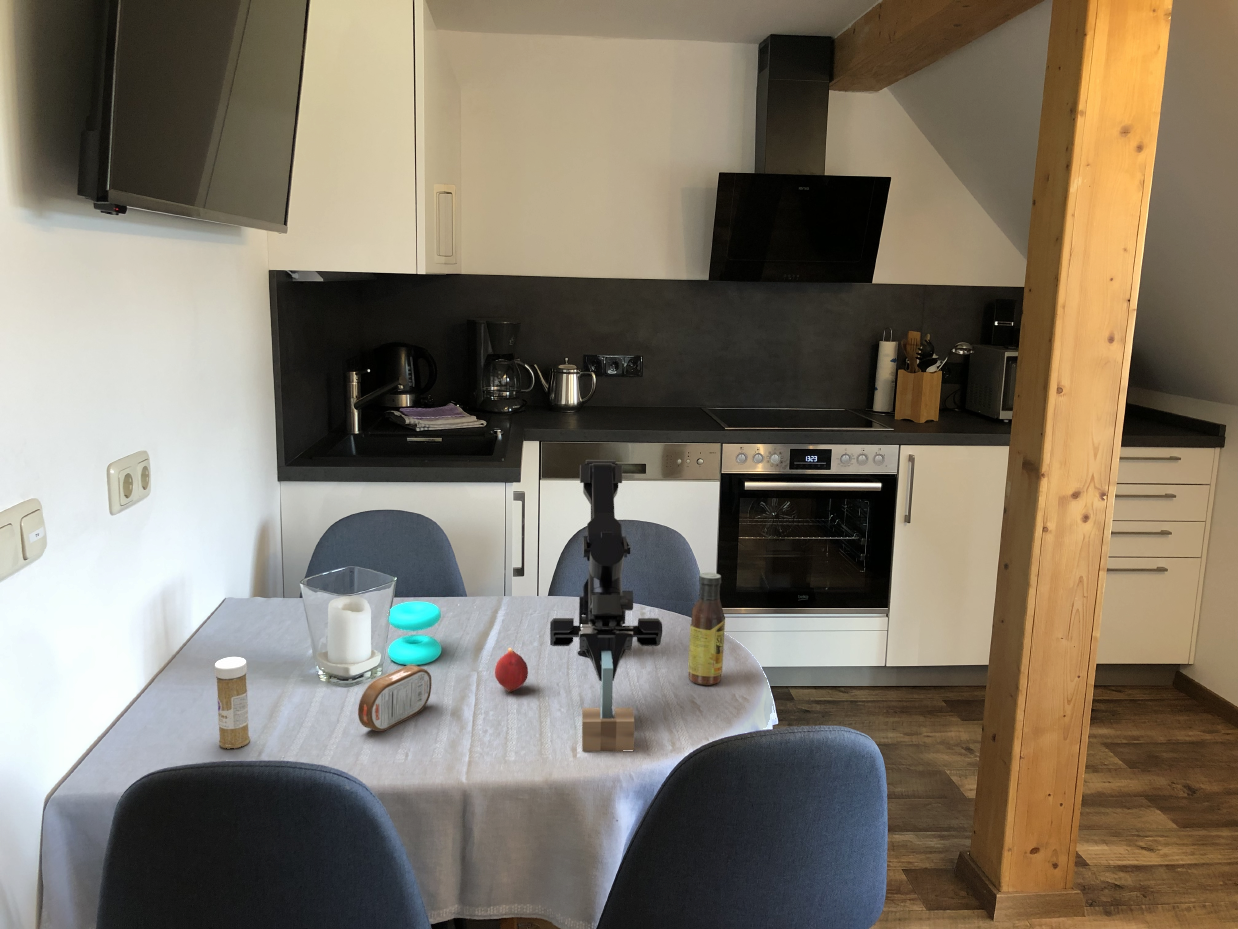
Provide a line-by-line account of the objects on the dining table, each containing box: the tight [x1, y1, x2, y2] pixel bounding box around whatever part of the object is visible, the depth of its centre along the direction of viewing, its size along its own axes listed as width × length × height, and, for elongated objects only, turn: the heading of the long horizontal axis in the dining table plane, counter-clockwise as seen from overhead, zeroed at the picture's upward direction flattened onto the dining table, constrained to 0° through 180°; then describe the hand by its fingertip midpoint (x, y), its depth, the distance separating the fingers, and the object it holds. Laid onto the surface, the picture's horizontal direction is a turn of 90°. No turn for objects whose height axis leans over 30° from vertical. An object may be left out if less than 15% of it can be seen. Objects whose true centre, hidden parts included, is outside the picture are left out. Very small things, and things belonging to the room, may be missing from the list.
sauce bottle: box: [687, 572, 726, 686], centre depth 180 cm, size 7×6×20 cm
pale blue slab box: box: [599, 651, 614, 719], centre depth 162 cm, size 8×2×11 cm, turn 3°
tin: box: [357, 664, 433, 732], centre depth 162 cm, size 15×3×8 cm, turn 149°
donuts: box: [387, 601, 442, 666], centre depth 189 cm, size 10×10×10 cm
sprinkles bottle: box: [214, 656, 251, 750], centre depth 152 cm, size 5×5×13 cm
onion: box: [494, 647, 529, 692], centre depth 174 cm, size 6×6×8 cm
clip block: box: [581, 707, 635, 752], centre depth 155 cm, size 5×8×5 cm, turn 93°
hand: (606, 680), depth 162 cm, fingers closed on pale blue slab box, 2 cm apart
